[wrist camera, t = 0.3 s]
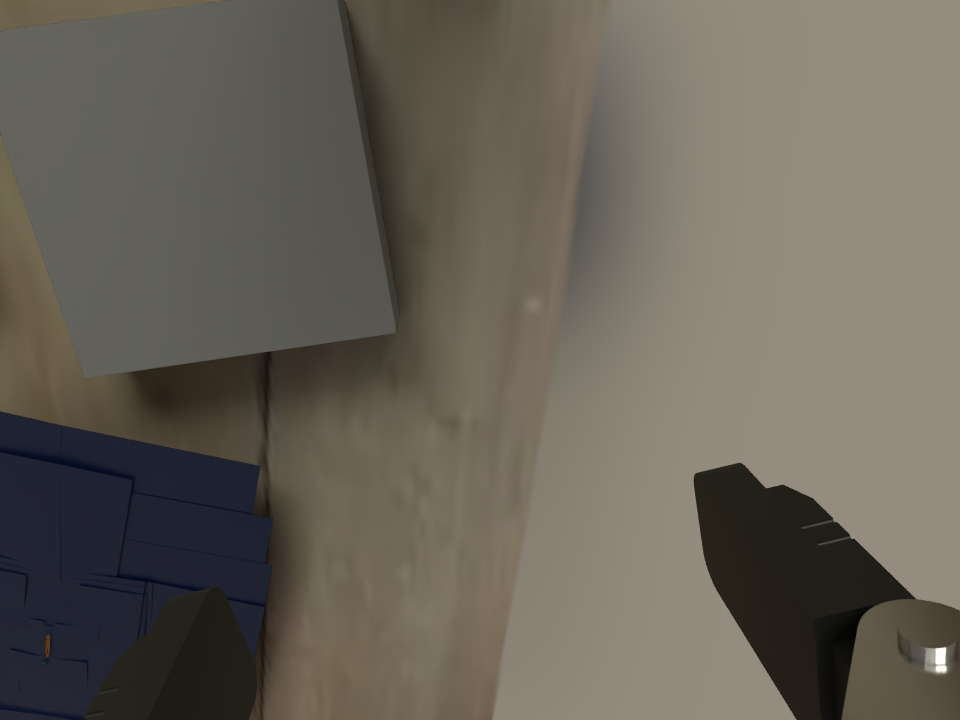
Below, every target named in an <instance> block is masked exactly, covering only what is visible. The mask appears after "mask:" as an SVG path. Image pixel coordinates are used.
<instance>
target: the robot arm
mask: <svg viewBox="0 0 960 720" xmlns="http://www.w3.org/2000/svg"><path fill="white" fill-rule="evenodd" d="M694 489H695V496H696V503H697V510H698V518H699V525H700V532H701V539H702V546H703V553H704V557H705V561H706V565H707V568H708V571H709V574H710V576H711V579H712V581H713V584H714V586H715V588H716V590H717V591H718V593H719V595H720V596H721V598H722V600H723V601H724V603H725V605H726V606H727V608H728V609H729V611H730V613H731V614H732V616H733V617H734V619H735V621H736V622H737V624H738V626H739V627H740V628H741V630H742V632H743V633H744V635H745V637H746V638H747V640H748V642H749V643H750V645H751V646H752V648H753V650H754V651H755V653H756V655H757V656H758V658H759V660H760V661H761V663H762V664H763V666H764V668H765V669H766V671H767V673H768V674H769V676H770V677H771V679H772V681H773V682H774V684H775V685H776V687H777V689H778V690H779V692H780V694H781V695H782V697H783V698H784V700H785V702H786V703H787V705H788V707H789V708H790V710H791V711H792V713H793V715H794V716H795V718H796V719H797V720H960V610H957V609H955V608H953V607H950V606H947V605H944V604H940V603H936V602H931V601H925V600H918V599H915V597H913V596H912V595H911V594H910V593H909V592H908V591H907V590H906V589H905V588H904V587H903V586H902V585H901V584H900V583H899V582H898V581H897V580H896V579H895V578H894V577H893V576H892V575H891V574H890V573H889V572H888V571H887V570H886V569H885V568H884V567H883V566H882V565H881V564H880V563H879V562H877V561H876V560H875V559H874V558H873V557H872V556H871V555H870V554H869V553H868V552H867V551H866V550H865V549H864V548H863V547H862V546H861V545H860V544H859V543H858V542H857V541H856V540H855V539H851V537H850V535H849V533H848V532H847V531H846V530H844V528H842V526H840V524H838V523H837V522H834V521H833V518H832V517H831V516H830V515H829V514H828V513H827V512H826V511H825V510H824V509H823V508H822V507H821V506H820V505H819V504H818V503H817V502H816V501H815V500H814V499H813V498H811V497H809V496H806V495H804V494H801V493H800V492H798V491H796V490H793V489H791V488H789V487H787V486H785V485H780V486H775V487H771V488H765V487H764V486H763V485H762V484H761V483H760V482H759V481H758V480H757V478H756V477H755V476H754V475H753V474H752V473H751V472H750V471H749V470H748V469H747V468H746V466H744V465H743V464H742V463H736V464H733V465H728V466H724V467H720V468H715V469H712V470H707V471H703V472H699V473H696V474H695V475H694ZM256 689H257V676H256V668H255V664H254V660H253V657H252V655H251V652H250V650H249V648H248V645H247V643H246V641H245V638H244V636H243V634H242V631H241V629H240V627H239V625H238V622H237V620H236V618H235V615H234V613H233V611H232V608H231V606H230V604H229V601H228V599H227V597H226V595H225V593H224V592H223V591H222V590H221V589H220V588H218V587H212V588H208V589H204V590H199V591H195V592H191V593H187V594H183V595H178V596H174V597H171V598H169V599H168V600H167V601H166V603H165V604H164V606H163V608H162V610H161V611H160V613H159V615H158V617H157V619H156V620H155V622H154V624H153V626H152V628H151V629H150V631H149V633H148V635H144V636H141V637H140V638H139V639H138V640H137V641H136V642H135V643H134V644H133V645H132V646H131V647H130V648H129V649H128V650H127V651H126V652H125V653H124V654H123V655H122V656H121V657H120V658H119V659H118V660H117V661H116V662H115V663H114V665H113V666H112V668H111V670H110V671H109V673H108V675H107V677H106V678H105V680H104V682H103V683H102V685H101V687H100V688H99V690H98V693H99V694H98V696H95V697H94V699H93V700H92V702H91V704H90V705H89V707H88V709H87V711H86V712H85V714H84V715H85V719H84V720H249V717H250V714H251V711H252V707H253V704H254V701H255V697H256Z"/></svg>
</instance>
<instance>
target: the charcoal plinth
mask: <svg viewBox="0 0 960 720" xmlns="http://www.w3.org/2000/svg"><path fill="white" fill-rule="evenodd" d="M0 133H1V136H2V139H3V142H4V145H5V148H6V151H7V154H8V157H9V160H10V162H11V165H12V168H13V171H14V174H15V177H16V180H17V183H18V186H19V189H20V192H21V195H22V197H23V200H24V203H25V206H26V209H27V212H28V215H29V218H30V221H31V224H32V227H33V229H34V232H35V235H36V238H37V241H38V244H39V247H40V250H41V253H42V256H43V259H44V262H45V264H46V267H47V270H48V273H49V276H50V279H51V282H52V285H53V288H54V291H55V294H56V296H57V299H58V302H59V305H60V308H61V311H62V314H63V317H64V320H65V323H66V326H67V329H68V331H69V334H70V337H71V340H72V343H73V346H74V349H75V352H76V355H77V358H78V361H79V363H80V366H81V369H82V372H83V375H84V378H91V377H98V376H105V375H112V374H118V373H125V372H132V371H139V370H146V369H153V368H160V367H167V366H173V365H180V364H187V363H194V362H201V361H208V360H215V359H222V358H229V357H235V356H242V355H249V354H256V353H263V352H270V351H277V350H284V349H290V348H297V347H304V346H311V345H318V344H325V343H332V342H339V341H346V340H352V339H359V338H366V337H373V336H380V335H387V334H394V333H397V327H398V321H399V315H400V312H399V306H398V300H397V294H396V289H395V283H394V277H393V272H392V266H391V260H390V254H389V249H388V243H387V237H386V232H385V226H384V220H383V214H382V209H381V203H380V197H379V192H378V186H377V180H376V174H375V169H374V163H373V157H372V152H371V146H370V140H369V134H368V129H367V123H366V117H365V112H364V106H363V100H362V94H361V89H360V83H359V77H358V72H357V66H356V60H355V54H354V49H353V43H352V37H351V32H350V26H349V20H348V14H347V9H346V3H345V1H344V0H228V1H220V2H213V3H205V4H198V5H190V6H183V7H175V8H168V9H160V10H153V11H145V12H138V13H130V14H123V15H115V16H108V17H100V18H92V19H85V20H77V21H70V22H62V23H55V24H47V25H40V26H32V27H25V28H17V29H10V30H2V31H0Z"/></svg>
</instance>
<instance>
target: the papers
mask: <svg viewBox="0 0 960 720" xmlns="http://www.w3.org/2000/svg"><path fill="white" fill-rule="evenodd" d="M259 471H260V466H257V465H252V464H247V463H243V462H238V461H233V460H228V459H223V458H218V457H213V456H208V455H203V454H198V453H194V452H189V451H184V450H179V449H174V448H169V447H164V446H159V445H154V444H149V443H144V442H140V441H135V440H130V439H125V438H120V437H115V436H110V435H105V434H100V433H95V432H91V431H86V430H81V429H76V428H71V427H66V426H61V425H57V424H52V423H48V422H44V421H39V420H35V419H31V418H26V417H22V416H17V415H13V414H9V413H4V412H0V720H84V719H85V715H84V714H85V712H86V711H87V709H88V707H89V705H90V704H91V702H92V700H93V699H94V697H95V696H98V694H99V693H98V690H99V688H100V687H101V685H102V683H103V682H104V680H105V678H106V677H107V675H108V673H109V671H110V670H111V668H112V666H113V665H114V663H115V662H116V661H117V660H118V659H119V658H120V657H121V656H122V655H123V654H124V653H125V652H126V651H127V650H128V649H129V648H130V647H131V646H132V645H133V644H134V643H135V642H136V641H137V640H138V639H139V638H140V637H141V636H144V635H148V633H149V631H150V629H151V628H152V626H153V624H154V622H155V620H156V619H157V617H158V615H159V613H160V611H161V610H162V608H163V606H164V604H165V603H166V601H167V600H168V599H169V598H171V597H174V596H178V595H183V594H187V593H191V592H195V591H199V590H204V589H208V588H212V587H218V588H220V589H221V590H222V591H223V592H224V593H225V595H226V597H227V599H228V601H229V604H230V606H231V608H232V611H233V613H234V615H235V618H236V620H237V622H238V625H239V627H240V629H241V631H242V634H243V636H244V638H245V641H246V643H247V645H248V648H249V650H250V652H251V655H252V657H253V660H254V656H255V652H256V647H257V642H258V638H259V633H260V628H261V624H262V619H263V614H264V610H265V602H266V596H267V591H268V585H269V579H270V574H271V568H272V565H267V564H265V561H266V556H267V550H268V544H269V538H270V532H271V526H272V520H273V518H268V517H262V516H257V515H252V512H253V506H254V500H255V495H256V489H257V483H258V477H259Z"/></svg>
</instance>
